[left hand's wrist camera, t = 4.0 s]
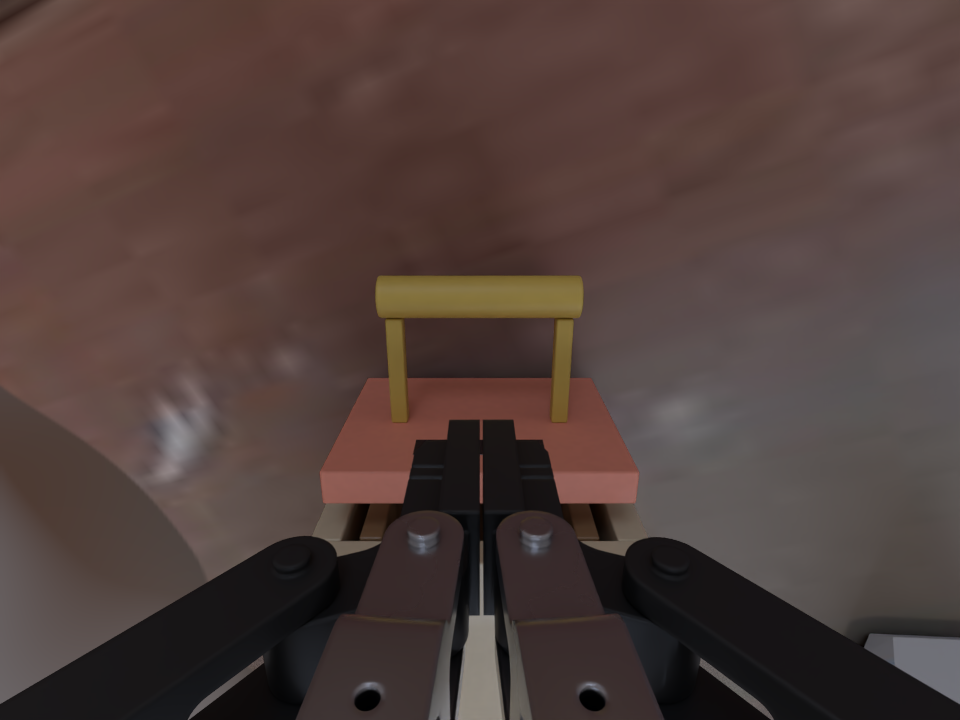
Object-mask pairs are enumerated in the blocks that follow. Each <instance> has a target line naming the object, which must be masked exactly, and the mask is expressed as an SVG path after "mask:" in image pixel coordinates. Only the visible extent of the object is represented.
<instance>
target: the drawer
mask: <svg viewBox="0 0 960 720" xmlns="http://www.w3.org/2000/svg"><path fill="white" fill-rule="evenodd" d="M583 298H584V291H583V282H582V278H581V277H580V276H378V278H377V281H376V288H375V302H376V310H377V314H378V316H379V317H380V318H386V320H385V327H386V343H387V358H388V374H389V378H368V379H367V381H366V383H365V385H364V387H363V389H362V391H361V393H360V395H359V397H358V399H357V400H356V402H355V404H354V406H353V408H352V410H351V412H350V414H349V416H348V418H347V420H346V422H345V424H344V426H343V428H342V430H341V432H340V434H339V436H338V437H337V439H336V441H335V443H334V445H333V447H332V449H331V451H330V453H329V455H328V457H327V459H326V461H325V463H324V465H323V467H322V469H321V471H320V481H321V490H322V498H323V503H370V507H369V510H368V513H367V516H366V519H365V522H364V525H363V529H362V532H361V535H360V538H359V540H360V541H382V539H383V536H384V534H385V532H386V530H387V528H388V527H389V525H390V524H391V523H392V522H394V521H395V520H396V519H398V518H399V517H400V515H401V511H402V506H403V502H404V497H405V493H406V488H407V484H408V480H409V475H410V470H411V468H412V462H413V457H414V453H415V451H416V450H417V449H418V448H419V447H420V446H421V445H422V444H423V443H424V442H425V441H426V440H447V434H448V425H449V420H480V541H483V419H513V420H514V427H515V435H516V440H537V441H538V442H539V443H540V444H541V445H542V446H543V447H544V448H545V449H546V450H547V451H548V453H549V458H550V462H551V468H552V470H553V475H554V479H555V483H556V488H557V492H558V496H559V500H560V505H561V509H562V513H563V518H564V520H565V521H566V522H568V523H569V524H570V525H571V527H572V528H573V530H574V532H575V534H576V536H577V539H578V540H579V541H599V539H600V538H599V535H598V532H597V529H596V525H595V522H594V519H593V516H592V513H591V510H590V506H589V503H635V502H636V496H637V488H638V479H639V471H638V469H637V467H636V465H635V463H634V461H633V459H632V457H631V455H630V453H629V451H628V449H627V447H626V445H625V444H624V442H623V440H622V438H621V436H620V434H619V432H618V430H617V428H616V426H615V424H614V422H613V420H612V418H611V416H610V414H609V412H608V410H607V408H606V406H605V404H604V402H603V400H602V398H601V396H600V394H599V393H598V391H597V389H596V387H595V385H594V383H593V381H592V379H591V378H570V372H571V356H572V341H573V325H574V320H573V318H579V317H580V316H581V313H582V309H583ZM404 318H555V320H554V340H553V360H552V378H407V361H406V342H405V322H404Z"/></svg>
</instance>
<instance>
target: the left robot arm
mask: <svg viewBox="0 0 960 720" xmlns="http://www.w3.org/2000/svg"><path fill="white" fill-rule="evenodd" d="M483 615H494V620H495V663H496V671H497V680H498V688H499V697H500V706H501V714H502V720H770V719H769V718H768V717H767V716H765V715H764V714H763V713H761V712H760V711H759V710H757V709H756V708H755V707H753V706H752V705H751V704H749V703H748V702H747V701H745V700H744V699H743V698H742V697H740V696H739V695H738V694H736V693H735V692H734V691H732V690H731V689H730V688H728V687H727V686H726V685H724V684H723V683H722V682H720V681H719V680H718V679H716V678H715V677H714V676H713V675H711V674H710V673H709V672H707V671H706V670H705V669H703V668H702V667H701V666H699V664H700V659H701V658H702V659H703V660H705V661H706V662H707V663H709V664H710V665H711V666H713V667H714V668H716V669H717V670H718V671H720V672H721V673H722V674H724V675H725V676H726V677H728V678H729V679H730V680H732V681H733V682H734V683H736V684H737V685H738V686H740V687H741V688H742V689H744V690H745V691H746V692H748V693H749V694H750V695H752V696H753V697H754V698H756V699H757V700H758V701H759V702H761V703H762V704H763V705H764V706H765V707H766V709H767V710H768V711H769V712H770V714H771V715H772V717H773V718H774V720H960V704H959V703H957V702H955V701H953V700H952V699H950V698H948V697H947V696H945V695H943V694H942V693H940V692H938V691H936V690H935V689H933V688H931V687H930V686H928V685H926V684H925V683H923V682H921V681H919V680H918V679H916V678H914V677H913V676H911V675H909V674H908V673H906V672H904V671H902V670H901V669H899V668H897V667H896V666H894V665H892V664H890V663H889V662H887V661H885V660H884V659H882V658H880V657H879V656H877V655H875V654H873V653H872V652H870V651H868V650H867V649H865V648H863V647H862V646H860V645H858V644H856V643H855V642H853V641H851V640H850V639H848V638H846V637H845V636H843V635H841V634H839V633H838V632H836V631H834V630H833V629H831V628H829V627H828V626H826V625H824V624H822V623H821V622H819V621H817V620H816V619H814V618H812V617H810V616H809V615H807V614H805V613H804V612H802V611H800V610H799V609H797V608H795V607H793V606H792V605H790V604H788V603H787V602H785V601H783V600H782V599H780V598H778V597H776V596H775V595H773V594H771V593H770V592H768V591H766V590H765V589H763V588H761V587H759V586H758V585H756V584H754V583H753V582H751V581H749V580H748V579H746V578H744V577H742V576H741V575H739V574H737V573H736V572H734V571H732V570H730V569H729V568H727V567H725V566H724V565H722V564H720V563H719V562H717V561H715V560H713V559H712V558H710V557H708V556H707V555H705V554H703V553H702V552H700V551H698V550H696V549H695V548H693V547H691V546H689V545H687V544H685V543H682V542H680V541H677V540H673V539H669V538H661V537H650V538H644V539H641V540H638V541H636V542H634V543H633V544H632V545H630V546H629V548H628V549H627V551H626V554H625V556H622V555H618V554H614V553H609V552H605V551H601V550H598V549H595V548H593V547H590V546H588V545H586V544H584V543H582V542H581V541H579V540H578V539H577V536H576V534H575V532H574V530H573V528H572V527H571V525H570V524H569V523H568V522H566V521H565V520H564V518H563V513H562V509H561V505H560V500H559V496H558V492H557V488H556V483H555V479H554V475H553V470H552V468H551V462H550V458H549V453H548V451H547V450H546V449H545V448H544V447H543V446H542V445H541V444H540V443H539V442H538V441H537V440H516V435H515V427H514V420H513V419H483ZM469 616H480V420H449V425H448V434H447V440H426V441H425V442H424V443H423V444H422V445H421V446H420V447H419V448H418V449H417V450H416V451H415V453H414V457H413V462H412V468H411V470H410V475H409V480H408V484H407V488H406V493H405V497H404V502H403V506H402V511H401V515H400V517H399V518H398V519H396V520H395V521H394V522H392V523H391V524H390V525H389V527H388V528H387V530H386V532H385V534H384V536H383V539H382V542H381V543H380V544H378V545H376V546H374V547H372V548H369V549H367V550H363V551H360V552H355V553H351V554H347V555H342V556H338V557H337V553H336V550H335V548H334V547H333V545H332V544H330V543H329V542H328V541H326V540H324V539H321V538H318V537H313V536H299V537H293V538H288V539H285V540H282V541H279V542H277V543H274V544H273V545H271V546H269V547H267V548H265V549H264V550H262V551H260V552H258V553H257V554H255V555H253V556H252V557H250V558H248V559H247V560H245V561H243V562H241V563H240V564H238V565H236V566H235V567H233V568H231V569H230V570H228V571H226V572H224V573H223V574H221V575H219V576H218V577H216V578H214V579H213V580H211V581H209V582H207V583H206V584H204V585H202V586H201V587H199V588H197V589H196V590H194V591H192V592H190V593H189V594H187V595H185V596H184V597H182V598H180V599H179V600H177V601H175V602H173V603H172V604H170V605H168V606H167V607H165V608H163V609H161V610H160V611H158V612H156V613H155V614H153V615H151V616H150V617H148V618H146V619H144V620H143V621H141V622H139V623H138V624H136V625H134V626H133V627H131V628H129V629H127V630H126V631H124V632H122V633H121V634H119V635H117V636H115V637H114V638H112V639H110V640H109V641H107V642H105V643H104V644H102V645H100V646H99V647H97V648H95V649H93V650H92V651H90V652H88V653H87V654H85V655H83V656H82V657H80V658H78V659H76V660H75V661H73V662H71V663H70V664H68V665H66V666H65V667H63V668H61V669H59V670H58V671H56V672H54V673H53V674H51V675H49V676H47V677H46V678H44V679H42V680H41V681H39V682H37V683H35V684H34V685H32V686H30V687H29V688H27V689H25V690H24V691H22V692H20V693H18V694H17V695H15V696H13V697H12V698H10V699H8V700H7V701H5V702H3V703H1V704H0V720H188V718H189V716H190V714H191V713H192V712H193V710H194V709H195V708H196V706H197V705H198V704H199V703H200V702H201V701H202V700H203V699H205V698H206V697H207V696H208V695H210V694H211V693H212V692H214V691H215V690H216V689H218V688H219V687H220V686H222V685H223V684H224V683H226V682H227V681H228V680H230V679H231V678H232V677H234V676H235V675H236V674H238V673H239V672H240V671H242V670H243V669H245V668H246V667H247V666H249V665H250V664H251V663H253V662H254V661H255V660H257V659H258V658H259V657H261V656H262V655H263V659H264V663H263V664H262V665H261V666H259V667H258V668H257V669H255V670H254V671H253V672H251V673H250V674H249V675H247V676H246V677H245V678H244V679H242V680H241V681H240V682H238V683H237V684H236V685H234V686H233V687H232V688H230V689H229V690H228V691H226V692H225V693H224V694H222V695H221V696H220V697H219V698H217V699H216V700H215V701H213V702H212V703H211V704H209V705H208V706H207V707H205V708H204V709H203V710H201V711H200V712H199V713H197V714H196V715H195V716H194V717H192V718H191V719H190V720H458V714H459V706H460V697H461V688H462V680H463V671H464V663H465V643H466V641H467V638H468V633H469Z"/></svg>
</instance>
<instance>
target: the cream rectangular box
mask: <svg viewBox="0 0 960 720" xmlns="http://www.w3.org/2000/svg"><path fill="white" fill-rule="evenodd" d="M589 506H590V510H591V513H592V516H593V519H594V522H595V525H596V529H597V532H598V535H599V538H600V539H599V541H581V542H582V543H584V544H586V545H588V546H590V547H593V548H595V549H598V550H601V551H605V552H609V553H614V554H618V555H622V556H625V554H626V551H627V549H628V548H629V546H630V545H632V544H633V543H634V542H636V541H638V540H641V539H644V538H648V536H647V534H646V532H645V529H644V527H643V525H642V523H641V520H640V518H639V516H638V514H637V511H636V509H635V507H634V505H633V503H589ZM369 507H370V503H326V505H325V508H324V510H323V512H322V514H321V516H320V519H319V521H318V523H317V525H316V528H315V530H314V532H313V534H312V536H313V537H318V538H321V539H324V540H326V541H328V542H329V543H330V544H332V545H333V547H334V548H335V550H336V553H337V557H338V556H342V555H347V554H351V553H355V552H360V551H363V550H367V549H369V548H372V547H374V546H376V545H378V544H380V543H381V542H382V541H360V540H359V538H360V535H361V532H362V529H363V525H364V522H365V519H366V516H367V513H368V510H369ZM458 720H502V714H501V706H500V697H499V688H498V680H497V671H496V663H495V620H494V615H483V541H480V616H469V633H468V638H467V641H466V643H465V663H464V671H463V680H462V688H461V697H460V706H459V714H458Z"/></svg>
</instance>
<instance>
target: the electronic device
mask: <svg viewBox="0 0 960 720" xmlns="http://www.w3.org/2000/svg"><path fill="white" fill-rule="evenodd" d="M864 648H865V649H867V650H868V651H870V652H872V653H873V654H875V655H877V656H879V657H880V658H882V659H884V660H885V661H887V662H889V663H890V664H892V665H894V666H896V667H897V668H899V669H901V670H902V671H904V672H906V673H908V674H909V675H911V676H913V677H914V678H916V679H918V680H919V681H921V682H923V683H925V684H926V685H928V686H930V687H931V688H933V689H935V690H936V691H938V692H940V693H942V694H943V695H945V696H947V697H948V698H950V699H952V700H953V701H955V702H957V703H959V704H960V638H959V637H937V636H915V635H893V634H871V633H870V634H869V637H868V639H867V641H866V644H865V646H864Z"/></svg>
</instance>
